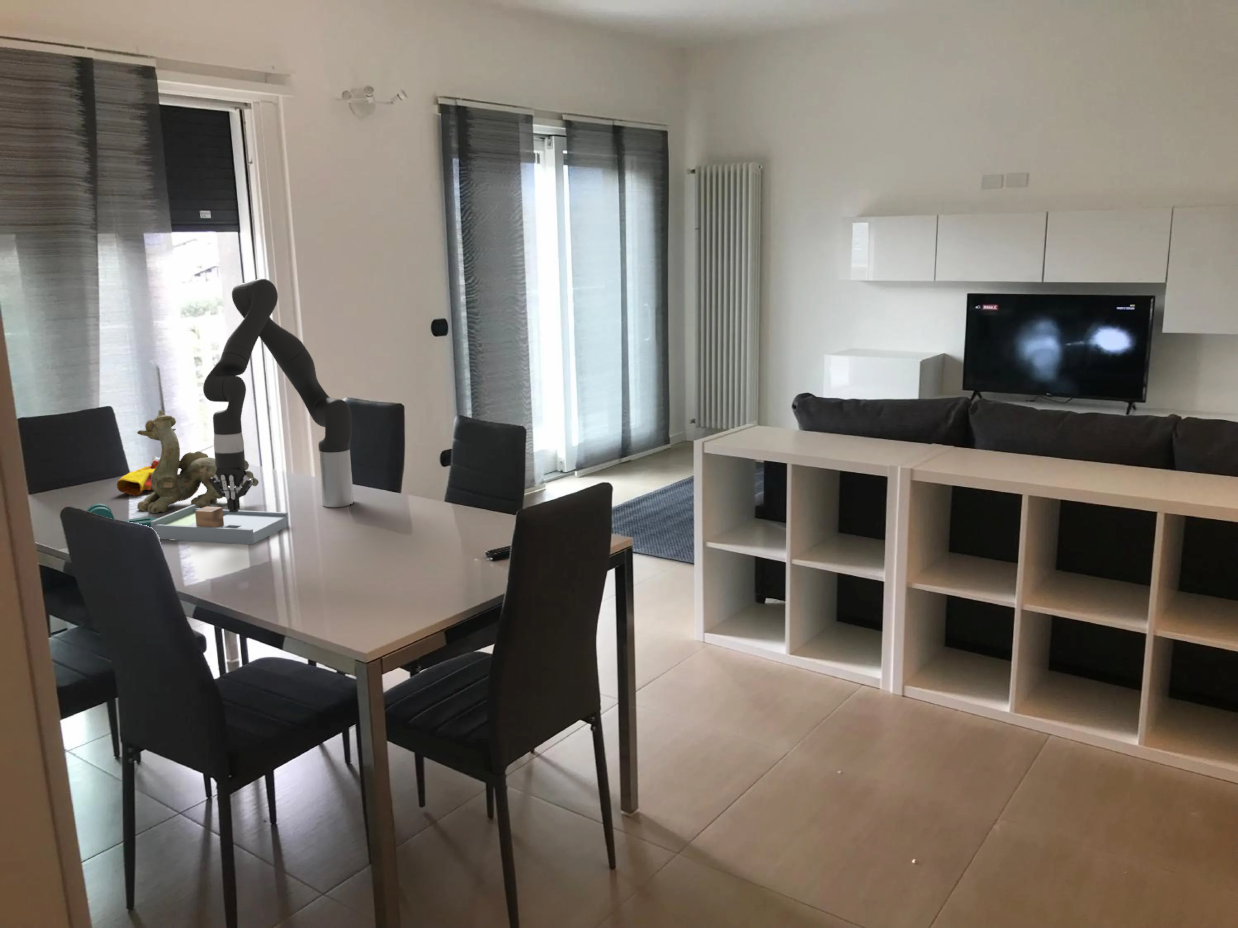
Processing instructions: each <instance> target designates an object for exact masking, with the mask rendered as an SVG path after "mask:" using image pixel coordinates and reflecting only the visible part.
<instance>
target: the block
mask: <svg viewBox="0 0 1238 928" xmlns="http://www.w3.org/2000/svg"><path fill="white" fill-rule="evenodd" d="M195 515H196V526H201V527H220V526H222V525H224V520H223V507H221V506H209V507H204V508H201V509H199V510H196V511H195Z"/></svg>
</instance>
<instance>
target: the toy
mask: <svg viewBox="0 0 1238 928" xmlns="http://www.w3.org/2000/svg"><path fill="white" fill-rule="evenodd" d="M160 457H161V456H159V457H158V456H152V460H151V462H150V465H148V466H144V467H141V468H138V469H136V470H135V471H130V472H128V473H127V474H124V475H123V476H122V477H120V478H118V480H117V482H116V488H117V490H118V491H119V492H120V493H124V494H128V495H131V496H134V497H137V496H140V495H142V492H143V491H144V490H148V491H153V489H152V487H151V476H152V473H153V471H154V470H155V469H156V467H157V465H158V463H159V460H160Z"/></svg>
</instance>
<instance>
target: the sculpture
mask: <svg viewBox="0 0 1238 928" xmlns="http://www.w3.org/2000/svg"><path fill="white" fill-rule="evenodd" d="M176 423H177V421H176V418H175V417H173V416H172V415H168V414H167V415H166V414H165V412H164V411H163V410H162V409H160V410H158V414H157V416H156V417H154V418H153V419H149V420H147V421H146V423H145V426H144V427H145V430H138V431H137V432H136V433H137V434H138V435H141V436H143V437H145V436H146V437H147V438H149V439H150V440H154V441H160V445H161V454H160V456H159V457H160V460H159V463H158V465H157V467H156V469H155V470H154V471H153V473H152V476H151V487H152V491H153V492H152V493H151V494H149V495H148V496H146V497H145V498H144V499H143V500H141V501H138V503H137V506H136V507H137V510H139V511H142V512H149V513H151V514H159V512H161V513H163V512H167V511H168V506H171V505H173V504H176V503H177V502H183V501H186V500H189V499H190V498H192V497H193V496H194V495H195V494H196V493H197V492H198V490H199V488H200V486H201V484H202V485H203V486H204V487H205V488H206V492H205V493H201V494H198V495H197V496H196V497H194V498H192V499H191V500H190V506H191V505H196V508H204V507H211V504H213V503H215V502H217V501H218V500H220V499H222V498H224V497H223V496H222V497H221V496H220V495H219V494H218V493H217V491H216V490H215V489H214V487H213V486H212V485H211V483H210V482H209V479H210V478H212V477H214V476H215V475H216V470H217V467H216V466H215V457H209V456H208V454H206V453H204V452H202V451H200V450H196V452H195V451H194V452H188V453H185V454H184V455H183V456H182V457H181V454H180V453H181V449H180V442H179V438H178V437H177V434H176V432H175V431H176V428H175V427H174V428H172V427H173V426H175V425H176ZM180 458H181V459H180ZM249 466H250V465H249V462H248V461H247V460H246V459H245V471H246V473H247V476H248V477H249V478H250V479H252V478H253V479H254V480H255V482H254V483H253V485H252V486H253V487H257V486H258V485H259V483H260V481H259V479H257V478H256V477H255V476H254V473H253V472H252V471H250V470H248V469H249ZM179 469H180V471H179ZM243 481H244V480H243ZM220 482H221V481H220ZM243 485H244V484H243V482H242V483H241V488H242V486H243Z"/></svg>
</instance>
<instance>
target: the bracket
mask: <svg viewBox="0 0 1238 928" xmlns="http://www.w3.org/2000/svg"><path fill="white" fill-rule="evenodd" d="M86 511H89V512H91V513H95V514H98V515H101V517H108V518H112V519H114V520H115V517H114V514H113V512H112V509H111V508H110V507H109V506H108V505H107V504H104V503H94V504H92V505H89V507H88V508H87V509H86ZM158 518H159V517H155V516H146V517H145V516H144V517H135V518H128V519H122V520H123V521H129V522H133V523H139V524H142V525H147V526H149V527H151V521H153V520H155V519H158Z"/></svg>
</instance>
